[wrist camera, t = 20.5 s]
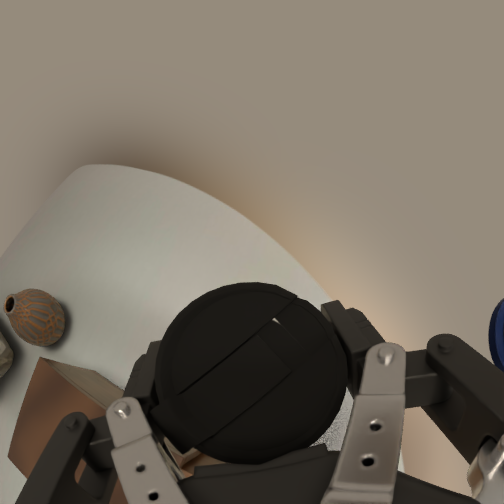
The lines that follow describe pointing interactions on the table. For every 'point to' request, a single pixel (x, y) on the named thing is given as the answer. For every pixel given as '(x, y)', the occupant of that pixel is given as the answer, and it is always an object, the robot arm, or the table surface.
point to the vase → (35, 316)
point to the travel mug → (248, 375)
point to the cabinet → (65, 413)
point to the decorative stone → (5, 356)
